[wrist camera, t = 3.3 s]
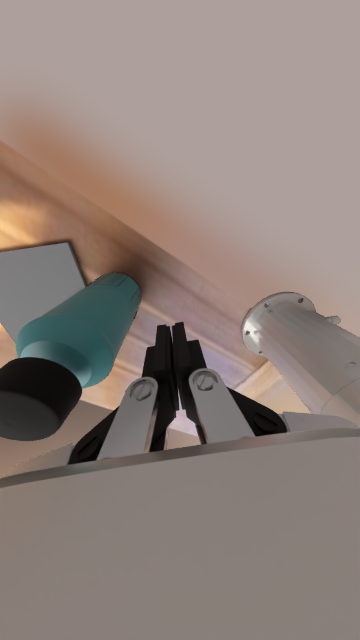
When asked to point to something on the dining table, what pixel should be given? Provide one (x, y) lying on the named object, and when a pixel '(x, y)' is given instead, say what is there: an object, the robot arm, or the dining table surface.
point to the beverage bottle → (65, 356)
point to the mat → (36, 283)
